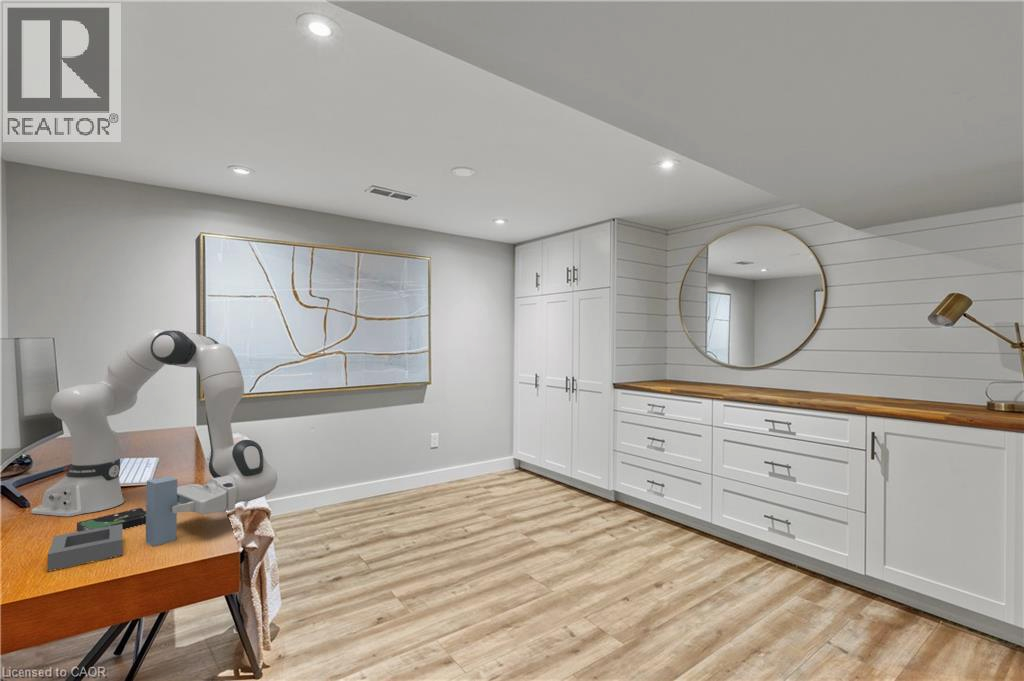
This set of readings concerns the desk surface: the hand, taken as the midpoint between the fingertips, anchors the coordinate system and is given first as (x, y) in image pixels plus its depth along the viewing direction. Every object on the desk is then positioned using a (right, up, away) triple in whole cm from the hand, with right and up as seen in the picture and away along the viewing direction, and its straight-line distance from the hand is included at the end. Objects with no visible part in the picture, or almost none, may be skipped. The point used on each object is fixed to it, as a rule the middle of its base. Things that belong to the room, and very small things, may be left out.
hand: (163, 506), depth 124 cm
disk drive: (-21, -10, +10) cm, 25 cm away
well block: (-12, -9, -9) cm, 17 cm away
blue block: (0, -9, -1) cm, 9 cm away
